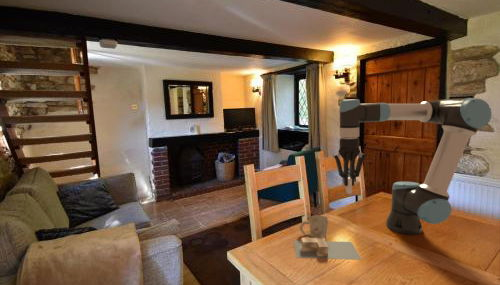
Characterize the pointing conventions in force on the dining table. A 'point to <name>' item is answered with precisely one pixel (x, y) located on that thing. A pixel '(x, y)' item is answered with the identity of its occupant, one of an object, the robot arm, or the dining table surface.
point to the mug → (316, 225)
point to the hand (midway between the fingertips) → (348, 192)
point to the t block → (315, 245)
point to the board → (330, 251)
